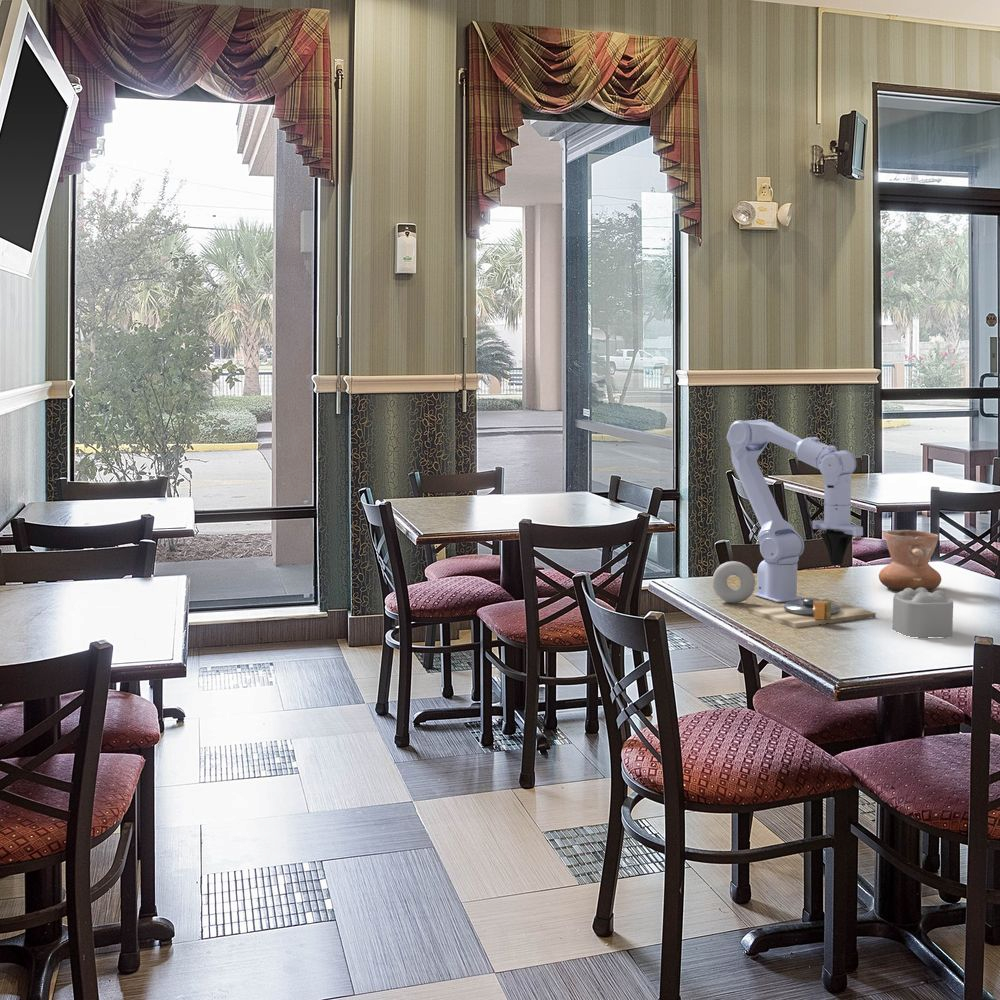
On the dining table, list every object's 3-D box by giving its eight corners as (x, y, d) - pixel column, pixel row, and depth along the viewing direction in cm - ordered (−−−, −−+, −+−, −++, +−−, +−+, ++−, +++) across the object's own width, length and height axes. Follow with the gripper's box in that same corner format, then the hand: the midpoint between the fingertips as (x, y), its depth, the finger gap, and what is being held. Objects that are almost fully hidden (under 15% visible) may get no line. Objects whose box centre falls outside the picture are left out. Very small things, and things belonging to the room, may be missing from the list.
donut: (755, 602, 252) (756, 561, 251) (753, 605, 249) (754, 563, 248) (713, 600, 256) (713, 558, 254) (710, 603, 252) (711, 561, 251)
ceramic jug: (948, 597, 255) (951, 538, 254) (884, 595, 258) (887, 536, 256) (931, 584, 273) (934, 528, 272) (872, 582, 276) (874, 527, 274)
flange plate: (790, 619, 230) (791, 602, 229) (779, 603, 245) (780, 587, 245) (848, 619, 229) (848, 603, 228) (833, 603, 244) (834, 588, 244)
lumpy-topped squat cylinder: (908, 639, 217) (910, 597, 216) (882, 624, 230) (883, 584, 229) (958, 638, 218) (960, 596, 217) (929, 623, 231) (930, 583, 230)
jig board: (748, 612, 242) (749, 591, 241) (826, 603, 251) (826, 583, 250) (797, 628, 226) (797, 606, 226) (878, 618, 235) (879, 596, 235)
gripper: (802, 502, 247) (801, 560, 249) (845, 508, 234) (844, 570, 235) (826, 500, 250) (825, 558, 251) (870, 506, 237) (869, 567, 238)
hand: (836, 563), depth 244 cm, fingers closed
